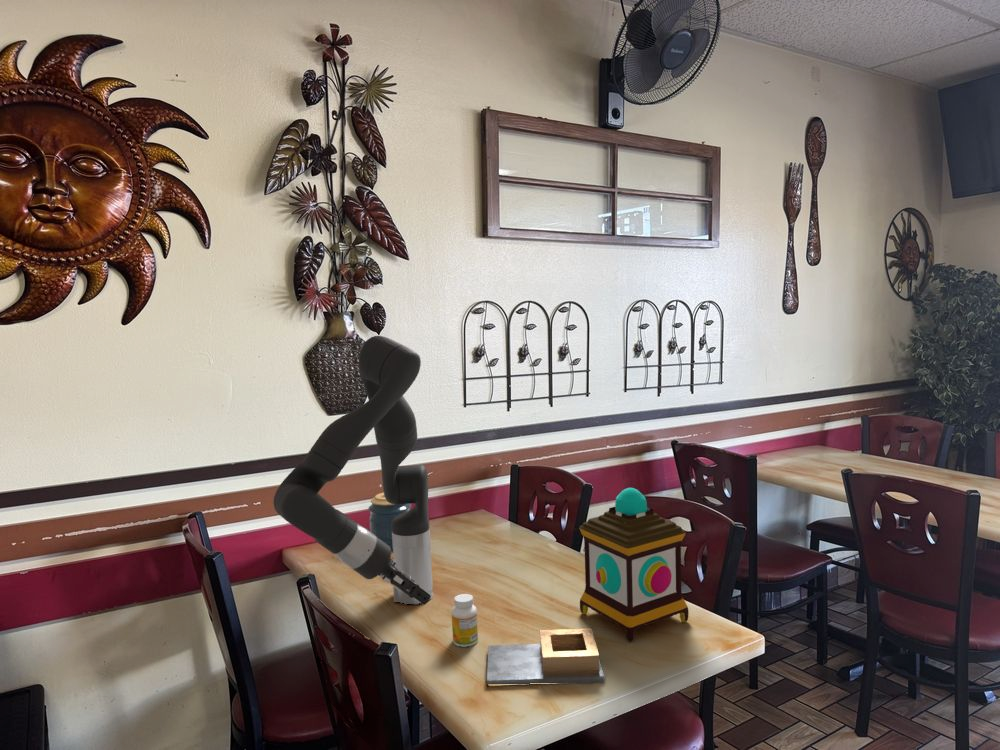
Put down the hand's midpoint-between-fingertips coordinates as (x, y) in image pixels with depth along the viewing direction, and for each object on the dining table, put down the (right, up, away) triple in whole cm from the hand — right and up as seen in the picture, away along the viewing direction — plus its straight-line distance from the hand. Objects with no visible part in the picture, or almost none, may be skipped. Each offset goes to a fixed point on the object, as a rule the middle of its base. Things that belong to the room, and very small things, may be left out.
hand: (419, 592), depth 136 cm
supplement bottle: (+9, -13, +6) cm, 17 cm away
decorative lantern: (+47, -10, +14) cm, 50 cm away
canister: (-17, -8, +68) cm, 70 cm away
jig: (+25, -13, -5) cm, 29 cm away
